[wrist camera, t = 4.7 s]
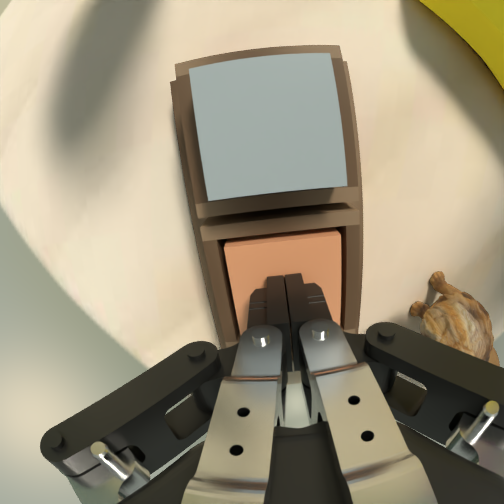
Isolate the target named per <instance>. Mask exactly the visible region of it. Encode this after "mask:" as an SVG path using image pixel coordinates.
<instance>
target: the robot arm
mask: <svg viewBox="0 0 504 504" xmlns="http://www.w3.org/2000/svg"><path fill="white" fill-rule="evenodd" d="M285 285H286V292H285ZM285 285H284V277H283V275H277V276H268V277H267V288H259V289H255V290H254V291H253V293H252V294H251V295H250V302H249V303H250V304H249V312H248V323H247V330H245V331H244V332H243V333H242V335H241V337H240V341H239V343H237V344H235V345H233V346H231V347H228V348H224V349H220V350H217V348H216V346H215V345H214V344H212V343H210V342H206V341H197V342H192V343H189V344H187V345H185V346H184V347H182V348H181V349H179V350H178V351H176V352H175V353H173V354H172V355H170V356H169V357H167V358H165V359H164V360H162V361H161V362H159V363H158V364H156V365H155V366H153V367H152V368H150V369H149V370H147V371H146V372H144V373H142V374H141V375H139V376H138V377H136V378H134V379H133V380H131V381H130V382H128V383H126V384H125V385H123V386H122V387H120V388H118V389H117V390H115V391H114V392H112V393H110V394H109V395H107V396H105V397H104V398H102V399H101V400H99V401H97V402H95V403H94V404H92V405H91V406H89V407H87V408H86V409H84V410H82V411H80V412H79V413H77V414H75V415H74V416H72V417H70V418H68V419H67V420H65V421H63V422H61V423H60V424H58V425H56V426H54V427H52V428H51V429H49V430H48V431H47V432H46V433H45V434H44V436H43V437H42V439H41V443H40V449H41V453H42V455H43V456H44V457H45V458H46V459H47V460H48V461H49V462H50V463H52V464H53V465H54V466H55V467H56V468H58V469H59V471H60V472H61V473H62V474H64V475H65V476H66V477H67V478H68V480H69V482H70V484H71V485H72V487H73V489H74V491H75V493H76V495H77V496H78V498H79V500H80V502H81V503H82V504H504V368H502V367H499V366H497V365H494V364H492V363H489V362H487V361H484V360H482V359H479V358H477V357H475V356H472V355H470V354H467V353H465V352H462V351H460V350H457V349H455V348H452V347H450V346H448V345H445V344H443V343H440V342H438V341H435V340H433V339H431V338H428V337H426V336H423V335H421V334H418V333H416V332H414V331H411V330H409V329H406V328H404V327H402V326H399V325H397V324H394V323H390V322H380V323H376V324H374V325H372V326H370V327H369V328H368V329H367V331H366V334H352V333H347V332H344V331H342V329H341V327H340V326H339V325H338V324H337V323H336V322H334V321H333V319H332V316H331V313H330V311H329V308H328V305H327V302H326V299H325V297H324V294H323V291H322V288H321V287H320V286H318V285H317V284H316V283H306V284H304V281H303V278H302V274H301V273H295V274H286V275H285ZM286 296H287V300H286ZM290 336H291V339H290ZM291 344H292V353H293V363H294V371H300V373H301V388H302V393H303V397H304V402H305V406H306V411H307V415H308V420H309V426H306V427H303V428H290V427H285V422H286V401H287V383H288V372H293V369H292V354H291ZM397 372H400V373H402V374H404V375H406V376H408V377H410V378H412V379H414V380H416V381H418V382H420V383H422V384H423V385H424V386H425V387H426V389H427V390H425V389H423V388H421V387H419V386H417V385H415V384H413V383H411V382H409V381H407V380H405V379H403V378H401V377H399V376H397ZM190 393H191V395H192V396H190V397H189V398H188V399H186V400H185V401H184V402H182V403H181V404H180V405H178V406H177V407H176V408H174V409H173V410H171V411H170V412H169V413H167V414H166V412H167V410H168V409H170V408H171V407H172V406H174V405H175V404H177V403H178V402H179V401H181V400H182V399H183V398H185V397H186V396H187V395H189V394H190ZM165 414H166V415H165ZM395 419H396V420H398V421H400V422H401V423H403V424H405V425H403V424H401V423H398V422H396V421H395ZM406 425H407V426H406ZM408 426H409V427H408ZM411 428H412V429H411ZM413 429H414V430H413ZM415 430H416V431H418V432H420V433H422V434H424V435H426V436H428V437H430V438H431V439H433V440H436V441H437V442H439V443H441V444H444V445H445V446H446V448H445V447H443V446H441V445H439V444H438V443H436V442H434V441H432V440H430V439H429V438H427V437H425V436H423V435H422V434H420V433H418V432H416V431H415ZM206 432H208V433H207V436H206V440H205V441H203V442H201V443H200V444H197V445H196V446H194V447H193V448H191V449H190V450H189V451H188V452H186V453H185V454H184V455H183V456H181V457H180V458H179V459H178V460H177V461H175V462H174V463H173V464H171V465H170V466H169V467H168V468H166V469H165V470H164V471H162V472H161V473H160V474H159V475H157V476H156V477H154V478H153V479H152V480H150V474H152V473H153V472H155V471H156V470H158V469H159V468H160V467H162V466H163V465H165V464H166V463H167V462H169V461H170V460H172V459H173V458H174V457H176V456H177V455H178V454H180V453H181V452H182V451H184V450H185V449H186V448H187V447H189V446H190V445H191V444H193V443H194V442H195V441H196V440H198V439H199V438H200V437H201V436H203V435H204V434H205V433H206Z"/></svg>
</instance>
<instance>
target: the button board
mask: <svg viewBox="0 0 504 504" xmlns="http://www.w3.org/2000/svg"><path fill="white" fill-rule="evenodd" d="M301 53H330V56H331V61H332V66H333V71H334V77H335V82H336V88H337V95H338V101H339V108H340V115H341V123H342V131H343V140H344V150H345V161H346V173H347V186H342V187H328V188H317V189H305V190H295V191H285V192H276V193H267V194H258V195H250V196H242V197H235V198H227V199H220V200H213V201H208V196H207V190H206V184H205V178H204V172H203V166H202V160H201V153H200V147H199V140H198V133H197V127H196V120H195V113H194V105H193V98H192V90H191V83H190V75H189V69H191V68H195V67H199V66H204V65H209V64H214V63H219V62H225V61H231V60H237V59H244V58H252V57H261V56H270V55H283V54H301ZM175 71H176V80H175V81H171V82H170V85H171V94H172V102H173V109H174V117H175V124H176V131H177V138H178V144H179V150H180V157H181V163H182V169H183V175H184V181H185V186H186V192H187V197H188V203H189V208H190V213H191V218H192V223H193V228H194V233H195V238H196V243H197V248H198V253H199V257H200V262H201V266H202V271H203V275H204V280H205V284H206V288H207V293H208V297H209V301H210V305H211V309H212V313H213V317H214V321H215V325H216V329H217V333H218V337H219V341H220V345H221V348H222V349H224V348H228V347H231V346H233V345H235V344H237V343H239V341H240V337H241V334H240V330H239V325H238V320H237V315H236V309H235V304H234V299H233V294H232V289H231V284H230V278H229V273H228V268H227V262H226V257H225V251H224V246H225V244H226V241H227V239H228V238H236V237H244V236H253V235H262V234H271V233H280V232H290V231H299V230H309V229H318V228H328V227H335V228H336V230H337V231H338V232H339V233H340V235H341V312H340V327H341V329H342V331H344V332H347V333H352V334H358V328H359V317H360V305H361V290H362V269H363V200H362V178H361V164H360V151H359V141H358V131H357V123H356V115H355V108H354V101H353V94H352V88H351V82H350V76H349V71H348V66H347V61H343V60H342V55H341V50H340V46H337V45H303V46H283V47H270V48H260V49H251V50H244V51H237V52H230V53H224V54H219V55H213V56H208V57H204V58H199V59H195V60H190V61H186V62H182V63H178V64H175ZM290 339H291V336H290ZM291 354H292V360H293V353H292V344H291Z"/></svg>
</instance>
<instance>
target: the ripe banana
mask: <svg viewBox="0 0 504 504" xmlns="http://www.w3.org/2000/svg"><path fill="white" fill-rule="evenodd" d="M419 1H420V2H422V3H423V4H424V5H425V6H427V7H428V8H429V9H430V10H432V11H433V12H434V13H435V14H437V15H438V16H439V17H440V18H441V19H443V20H444V21H445V22H446V23H447V24H448V25H449V26H450V27H452V28H453V29H454V30H455V31H456V32H457V33H458V34H459V35H460V36H461V37H462V38H463V39H464V40H465V41H466V42H467V43H468V44H469V45H470V46H471V47H472V48H473V49H474V50H475V51H476V52H477V53H478V54H479V55H480V57H481V58H482V59H483V60H484V62H485V63H486V65H487V66H488V67H489V69H490V70H491V72H492V73H493V74H494V76H495V77H496V79H497V80H498V82H499V84H500V85H501V87H502V88H503V90H504V0H419Z"/></svg>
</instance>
